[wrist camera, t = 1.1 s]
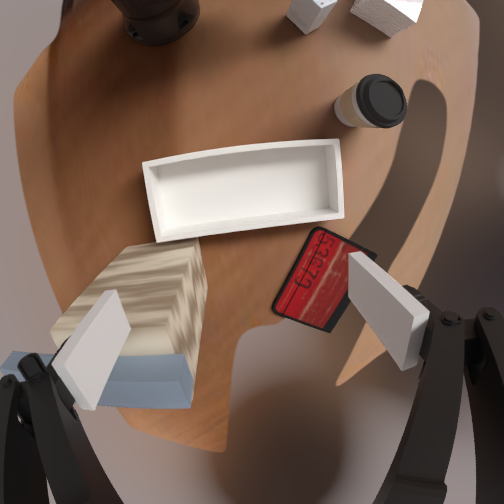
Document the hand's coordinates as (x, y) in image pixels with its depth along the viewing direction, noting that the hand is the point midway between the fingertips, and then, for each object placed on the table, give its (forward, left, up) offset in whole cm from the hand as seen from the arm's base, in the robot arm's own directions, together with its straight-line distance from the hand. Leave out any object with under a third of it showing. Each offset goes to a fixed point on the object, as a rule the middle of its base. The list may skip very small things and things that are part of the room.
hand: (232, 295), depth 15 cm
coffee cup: (-15, +25, -39) cm, 48 cm away
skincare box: (-35, +18, -39) cm, 55 cm away
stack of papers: (-50, +42, -39) cm, 76 cm away
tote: (-2, +3, -38) cm, 39 cm away
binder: (+20, +17, -39) cm, 47 cm away
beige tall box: (+12, -15, -38) cm, 43 cm away
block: (+12, -19, -8) cm, 24 cm away
